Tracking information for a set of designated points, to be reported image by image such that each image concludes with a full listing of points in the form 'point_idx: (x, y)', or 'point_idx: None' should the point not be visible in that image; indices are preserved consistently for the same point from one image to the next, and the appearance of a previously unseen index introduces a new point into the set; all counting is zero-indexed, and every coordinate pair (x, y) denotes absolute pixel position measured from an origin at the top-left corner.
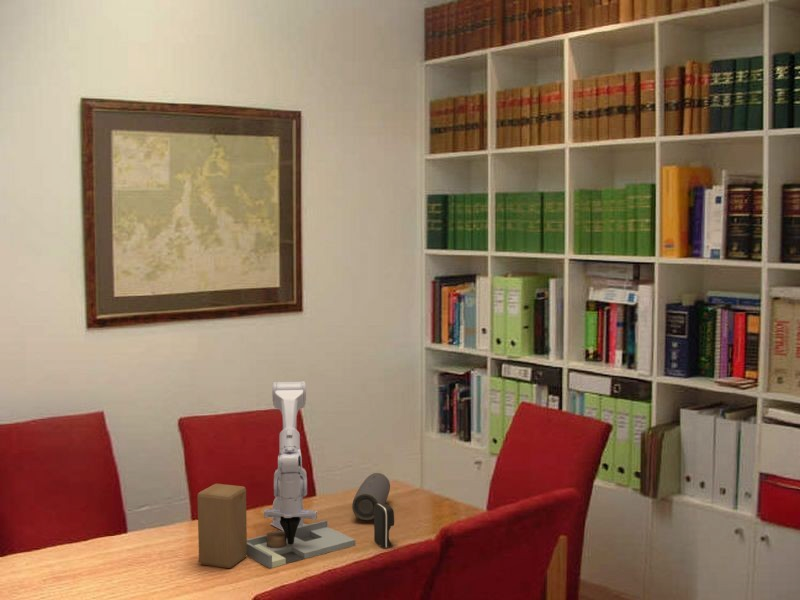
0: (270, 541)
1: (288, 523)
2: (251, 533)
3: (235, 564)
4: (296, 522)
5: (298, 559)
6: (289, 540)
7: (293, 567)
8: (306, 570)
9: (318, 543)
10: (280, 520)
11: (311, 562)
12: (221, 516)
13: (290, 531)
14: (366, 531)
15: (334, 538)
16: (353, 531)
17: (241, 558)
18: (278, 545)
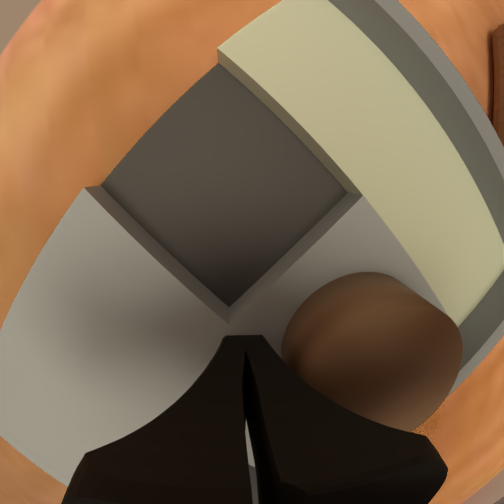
0: (418, 295)
1: (274, 492)
2: (442, 454)
3: (494, 69)
4: (73, 486)
5: (137, 152)
6: (248, 346)
7: (152, 25)
8: (72, 12)
9: (70, 387)
10: (428, 501)
11: (52, 135)
12: None
13: (233, 398)
14: (36, 489)
15: (41, 438)
16: None
17: (499, 113)
18: (340, 288)
